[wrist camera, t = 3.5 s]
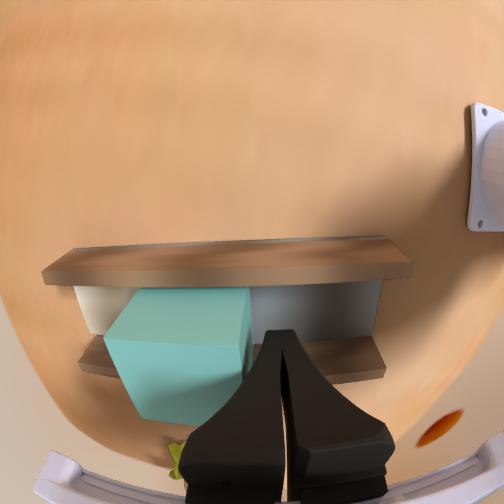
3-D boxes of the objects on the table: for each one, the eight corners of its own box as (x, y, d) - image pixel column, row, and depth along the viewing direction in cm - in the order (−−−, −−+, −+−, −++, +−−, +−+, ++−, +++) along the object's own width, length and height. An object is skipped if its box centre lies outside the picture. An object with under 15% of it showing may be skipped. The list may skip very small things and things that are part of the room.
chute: (384, 236, 14) (412, 261, 11) (367, 340, 17) (383, 377, 13) (68, 248, 15) (35, 271, 12) (98, 339, 18) (77, 369, 15)
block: (248, 267, 14) (238, 345, 9) (253, 344, 16) (248, 428, 10) (154, 269, 14) (103, 337, 9) (172, 342, 16) (141, 418, 11)
